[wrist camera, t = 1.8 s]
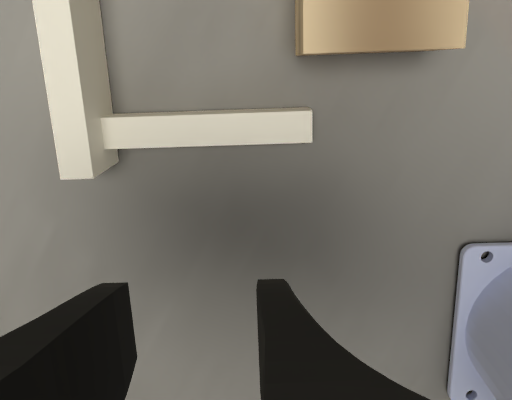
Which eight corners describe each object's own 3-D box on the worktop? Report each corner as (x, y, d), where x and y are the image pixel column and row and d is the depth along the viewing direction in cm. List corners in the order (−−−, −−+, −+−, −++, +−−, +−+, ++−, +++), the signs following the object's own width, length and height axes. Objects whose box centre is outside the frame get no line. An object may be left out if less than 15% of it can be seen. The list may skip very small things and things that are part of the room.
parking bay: (307, -189, 16) (317, -244, 13) (309, 155, 19) (316, 172, 16) (44, -174, 16) (-4, -225, 13) (90, 162, 20) (60, 179, 17)
